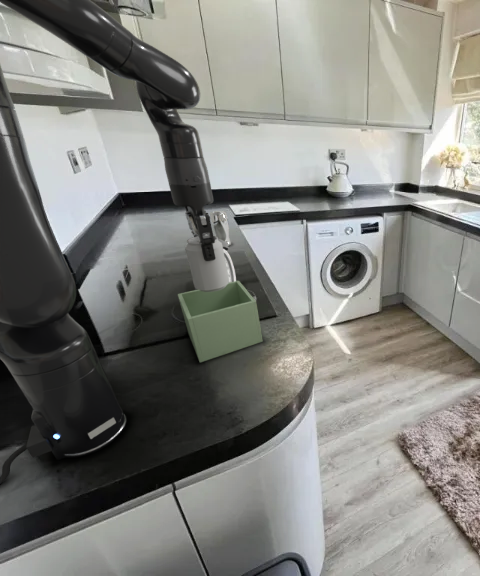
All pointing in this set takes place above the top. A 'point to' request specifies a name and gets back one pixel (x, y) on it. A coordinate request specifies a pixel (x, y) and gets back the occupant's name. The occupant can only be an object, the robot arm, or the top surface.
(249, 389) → the top surface
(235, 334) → the bin
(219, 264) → the can
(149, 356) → the top surface
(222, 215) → the silver grey upright ornament
